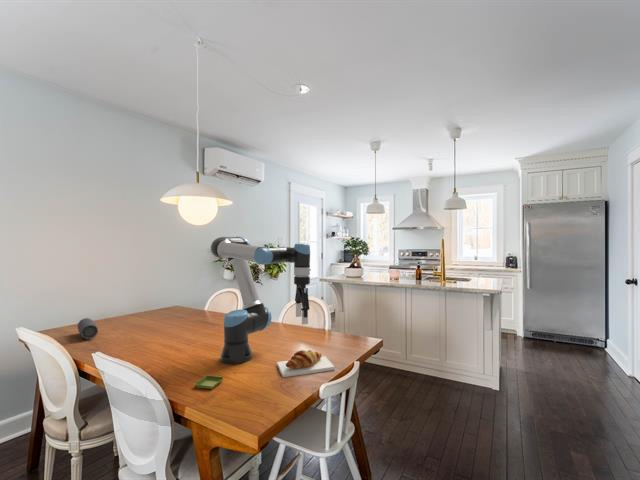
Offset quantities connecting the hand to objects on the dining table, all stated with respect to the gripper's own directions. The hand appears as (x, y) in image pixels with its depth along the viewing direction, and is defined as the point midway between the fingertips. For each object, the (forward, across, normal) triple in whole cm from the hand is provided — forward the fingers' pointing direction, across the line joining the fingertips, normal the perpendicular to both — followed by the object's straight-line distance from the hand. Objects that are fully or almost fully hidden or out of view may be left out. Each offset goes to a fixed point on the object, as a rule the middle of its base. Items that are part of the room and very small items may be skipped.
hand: (301, 320), depth 152 cm
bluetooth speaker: (+25, +83, +119) cm, 147 cm away
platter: (+21, -5, -1) cm, 21 cm away
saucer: (+22, -10, +41) cm, 48 cm away
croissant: (+20, -5, -1) cm, 20 cm away
